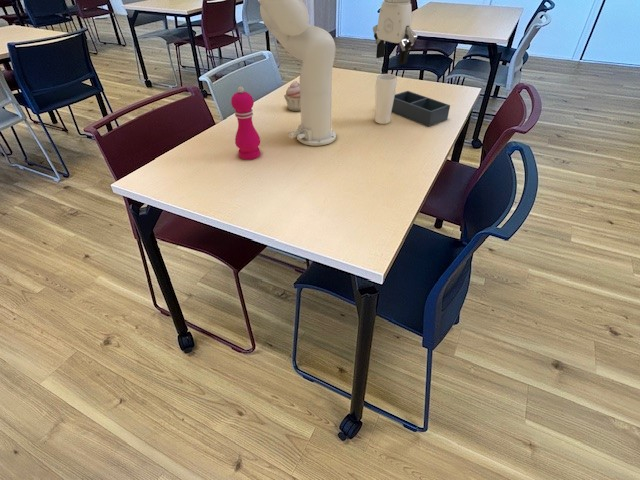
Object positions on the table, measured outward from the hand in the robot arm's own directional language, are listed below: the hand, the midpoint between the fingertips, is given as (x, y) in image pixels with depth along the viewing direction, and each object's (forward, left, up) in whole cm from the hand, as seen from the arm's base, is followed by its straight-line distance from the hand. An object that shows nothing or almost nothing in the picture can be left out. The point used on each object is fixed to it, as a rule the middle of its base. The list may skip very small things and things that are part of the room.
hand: (391, 60), depth 121 cm
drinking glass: (-2, 0, -20) cm, 20 cm away
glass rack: (+12, -4, -20) cm, 23 cm away
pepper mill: (-51, +7, -20) cm, 55 cm away
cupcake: (-18, +29, -20) cm, 39 cm away
